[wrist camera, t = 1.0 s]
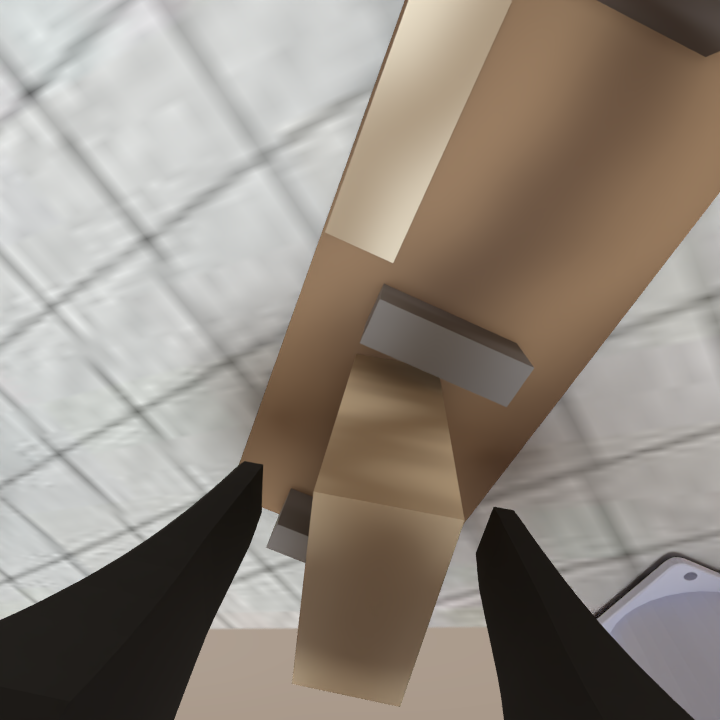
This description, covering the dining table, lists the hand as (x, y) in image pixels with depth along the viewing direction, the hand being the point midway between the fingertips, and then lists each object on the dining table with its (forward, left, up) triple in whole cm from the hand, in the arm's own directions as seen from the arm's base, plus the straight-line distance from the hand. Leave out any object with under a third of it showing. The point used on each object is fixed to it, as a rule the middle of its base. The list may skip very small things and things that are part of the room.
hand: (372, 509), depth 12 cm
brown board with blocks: (0, -5, -5) cm, 7 cm away
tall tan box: (0, 0, -4) cm, 4 cm away
